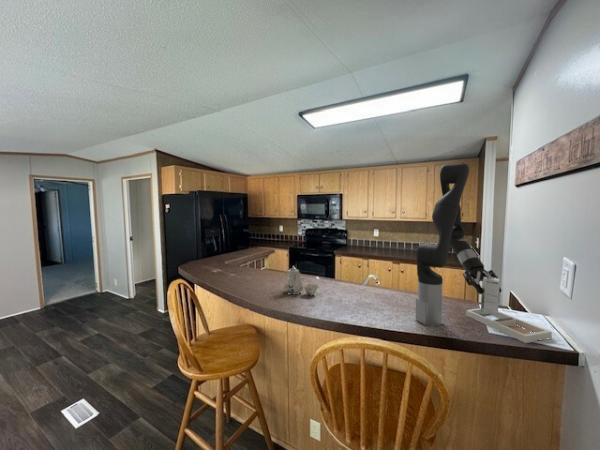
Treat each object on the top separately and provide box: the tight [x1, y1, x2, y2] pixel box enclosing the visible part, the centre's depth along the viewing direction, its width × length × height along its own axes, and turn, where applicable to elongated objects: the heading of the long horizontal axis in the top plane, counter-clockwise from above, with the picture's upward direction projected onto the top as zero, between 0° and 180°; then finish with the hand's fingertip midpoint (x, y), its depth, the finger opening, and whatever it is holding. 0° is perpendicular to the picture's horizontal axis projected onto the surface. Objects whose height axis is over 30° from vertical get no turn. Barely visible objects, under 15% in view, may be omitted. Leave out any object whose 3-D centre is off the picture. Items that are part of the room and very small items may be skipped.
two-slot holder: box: [465, 307, 553, 344], centre depth 103 cm, size 12×24×3 cm, turn 13°
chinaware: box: [284, 265, 319, 297], centre depth 150 cm, size 28×17×17 cm, turn 34°
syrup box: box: [480, 277, 501, 315], centre depth 108 cm, size 6×6×14 cm
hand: (490, 292), depth 108 cm, fingers closed on syrup box, 8 cm apart
